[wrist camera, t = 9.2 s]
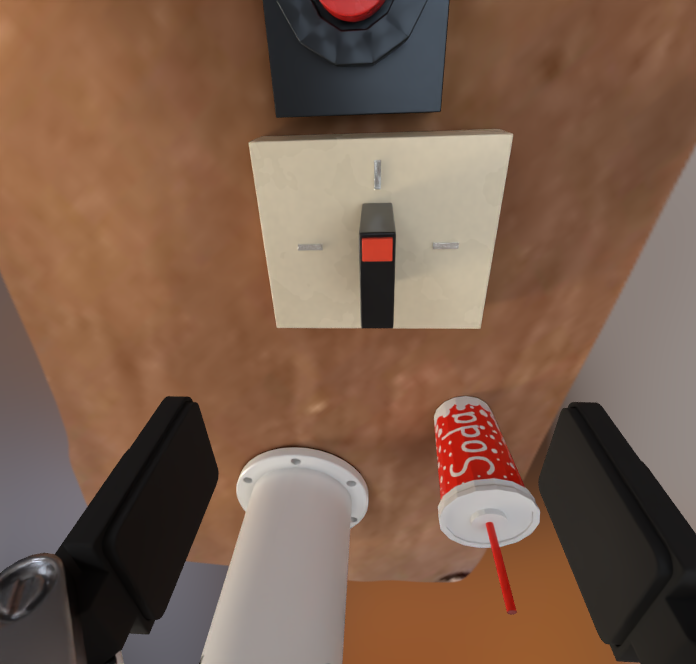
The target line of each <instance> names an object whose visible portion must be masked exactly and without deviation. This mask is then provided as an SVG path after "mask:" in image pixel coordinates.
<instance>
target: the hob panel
mask: <svg viewBox="0 0 696 664" xmlns="http://www.w3.org/2000/svg"><path fill="white" fill-rule="evenodd" d="M512 140H513V134H512V133H509V132H506V131H504V130H501V129H477V130H445V131H414V132H382V133H351V134H320V135H288V136H261V137H259V138H257V139H255V140H252V141H250V142H249V149H250V156H251V162H252V169H253V175H254V182H255V188H256V195H257V201H258V208H259V214H260V221H261V227H262V234H263V240H264V247H265V254H266V260H267V267H268V273H269V280H270V286H271V293H272V299H273V306H274V312H275V319H276V325H277V328H361V314H360V273H359V227H360V219H361V211H362V204H364V203H392V205H393V213H394V221H395V229H396V257H395V293H394V327H393V328H446V329H480V328H481V323H482V317H483V311H484V305H485V299H486V293H487V287H488V281H489V275H490V269H491V263H492V258H493V252H494V246H495V240H496V234H497V228H498V222H499V216H500V210H501V204H502V199H503V193H504V187H505V181H506V175H507V169H508V163H509V157H510V151H511V145H512Z"/></svg>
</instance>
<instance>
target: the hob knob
mask: <svg viewBox="0 0 696 664" xmlns="http://www.w3.org/2000/svg"><path fill="white" fill-rule="evenodd" d="M395 257H396V229H395V221H394V213H393V205H392V203H364V204H362V211H361V219H360V227H359V273H360V314H361V328H393V327H394V293H395Z"/></svg>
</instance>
